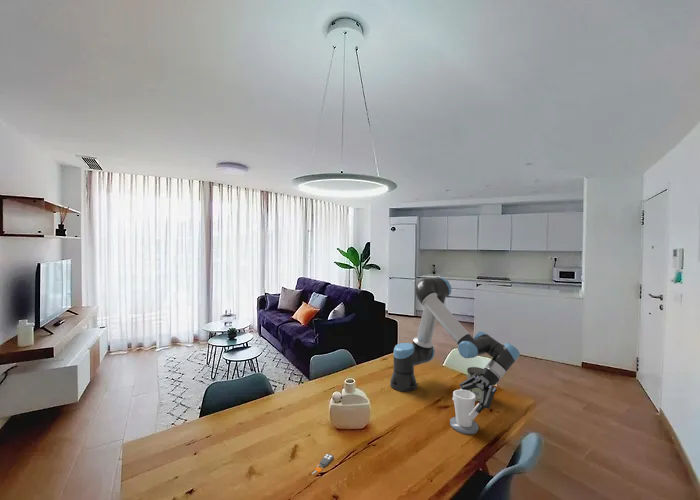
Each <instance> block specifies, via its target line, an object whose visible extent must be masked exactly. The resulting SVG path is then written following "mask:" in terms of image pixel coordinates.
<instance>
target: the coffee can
mask: <svg viewBox="0 0 700 500" xmlns="http://www.w3.org/2000/svg"><path fill="white" fill-rule="evenodd" d="M483 369H484V368H482V367H477V366H472V367H471V366H470V367H467V369H466V372H467V373H466V375H467V377H466V378H467V379H468V378H470V377H472V376H473V375H474V374H475V373H476V374H477V375H478V376H481V371H482V370H483ZM467 379H466V380H467ZM468 391H471V392H472V393H474V394H475V396H476V401H475V402H480V401H481V392H482V391H481V389H479V388H473V389H470V390H468Z"/></svg>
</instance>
